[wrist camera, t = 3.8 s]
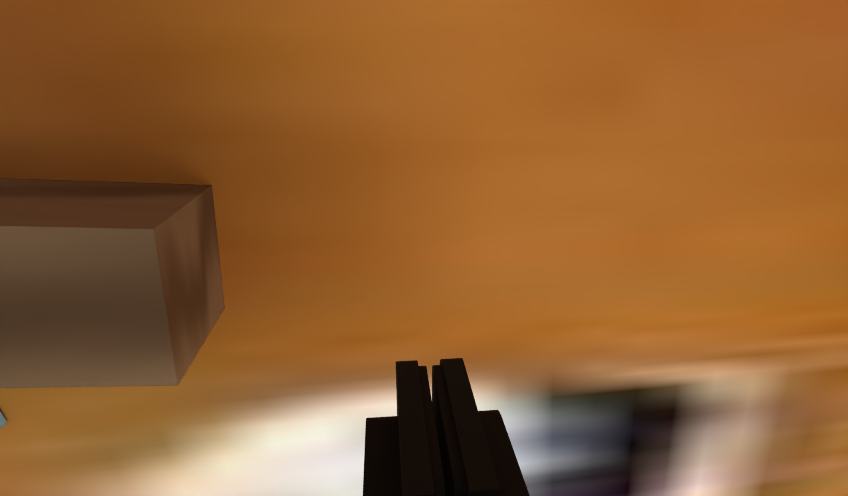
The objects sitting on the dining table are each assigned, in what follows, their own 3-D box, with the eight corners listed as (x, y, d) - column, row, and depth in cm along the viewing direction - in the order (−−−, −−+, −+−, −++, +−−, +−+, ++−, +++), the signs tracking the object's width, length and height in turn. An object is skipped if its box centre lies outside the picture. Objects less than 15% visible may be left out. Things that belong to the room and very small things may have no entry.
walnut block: (-15, 176, 19) (-171, 222, 14) (212, 184, 20) (153, 229, 15) (20, 305, 22) (-101, 389, 16) (225, 306, 23) (177, 385, 17)
